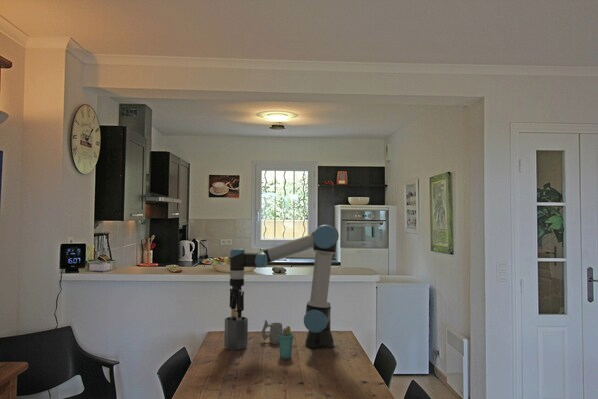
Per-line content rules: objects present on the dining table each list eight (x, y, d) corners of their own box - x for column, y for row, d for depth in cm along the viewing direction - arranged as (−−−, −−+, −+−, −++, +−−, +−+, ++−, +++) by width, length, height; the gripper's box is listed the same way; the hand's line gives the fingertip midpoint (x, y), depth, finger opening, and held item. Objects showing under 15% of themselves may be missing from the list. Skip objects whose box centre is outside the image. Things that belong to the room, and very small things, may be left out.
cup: (291, 362, 218) (291, 329, 219) (275, 361, 219) (275, 329, 219) (294, 353, 232) (295, 323, 233) (279, 353, 233) (279, 322, 233)
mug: (284, 343, 251) (284, 321, 252) (262, 344, 250) (262, 321, 250) (282, 340, 259) (282, 318, 260) (261, 340, 257) (261, 318, 258)
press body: (250, 348, 240) (250, 319, 241) (229, 351, 235) (230, 321, 235) (238, 342, 253) (239, 314, 254) (219, 344, 247) (219, 316, 248)
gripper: (223, 276, 250) (222, 320, 249) (237, 280, 234) (236, 327, 233) (236, 276, 254) (235, 318, 253) (250, 279, 238) (250, 325, 237)
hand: (236, 322), depth 243 cm, fingers open, 6 cm apart
